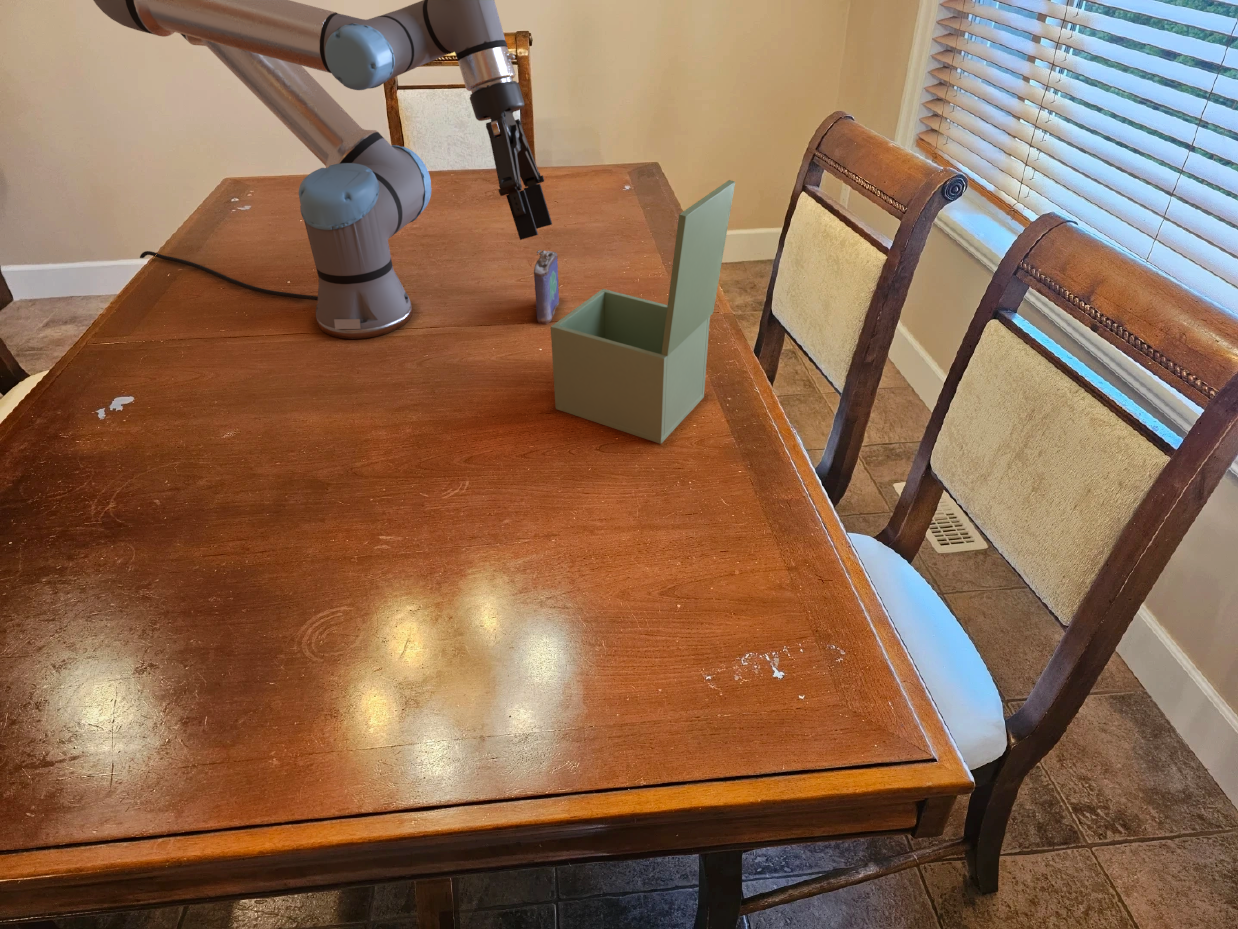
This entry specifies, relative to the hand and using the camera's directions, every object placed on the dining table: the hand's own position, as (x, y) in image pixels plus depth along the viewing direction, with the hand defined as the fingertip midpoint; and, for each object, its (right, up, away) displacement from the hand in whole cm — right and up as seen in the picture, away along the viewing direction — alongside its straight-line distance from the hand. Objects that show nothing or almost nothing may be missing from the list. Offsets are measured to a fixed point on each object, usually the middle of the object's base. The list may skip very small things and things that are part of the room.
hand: (537, 231), depth 124 cm
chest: (+14, -28, -12) cm, 33 cm away
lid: (+22, -13, -29) cm, 38 cm away
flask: (+1, -11, +11) cm, 15 cm away
